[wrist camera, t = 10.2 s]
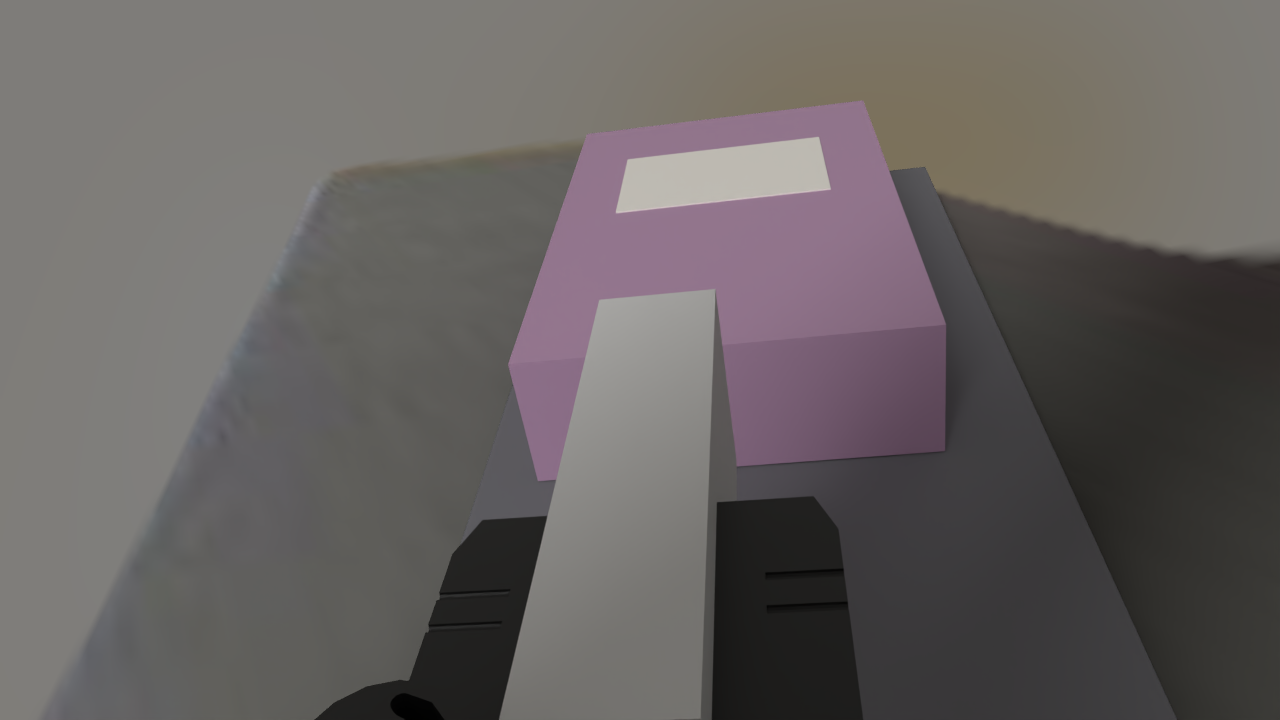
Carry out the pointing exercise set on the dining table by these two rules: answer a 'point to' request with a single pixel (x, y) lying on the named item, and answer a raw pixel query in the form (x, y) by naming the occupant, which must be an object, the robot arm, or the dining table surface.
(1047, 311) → the dining table surface
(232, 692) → the dining table surface
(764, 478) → the mat
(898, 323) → the box
